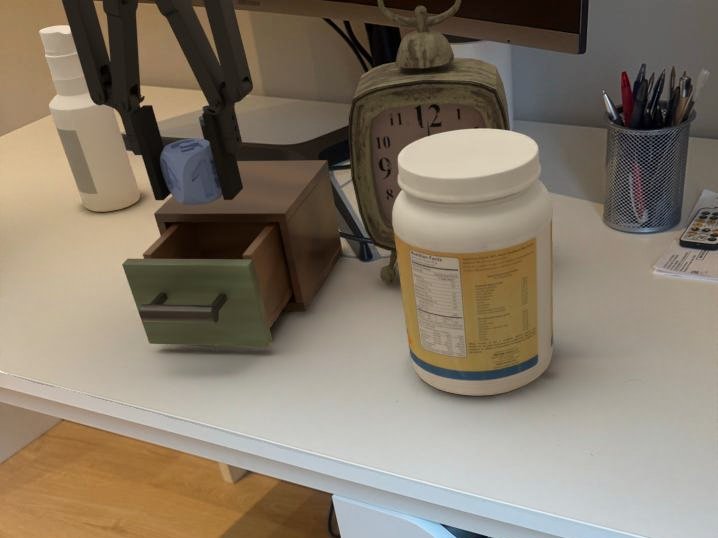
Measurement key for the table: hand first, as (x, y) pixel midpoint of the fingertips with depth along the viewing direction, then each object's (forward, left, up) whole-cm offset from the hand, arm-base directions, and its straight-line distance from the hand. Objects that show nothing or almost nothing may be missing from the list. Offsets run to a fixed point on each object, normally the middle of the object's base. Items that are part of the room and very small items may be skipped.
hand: (199, 193), depth 77 cm
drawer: (0, -2, -11) cm, 11 cm away
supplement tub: (+25, -6, -12) cm, 28 cm away
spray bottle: (-27, +31, -12) cm, 42 cm away
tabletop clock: (+18, +13, -12) cm, 25 cm away
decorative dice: (0, 0, 0) cm, 0 cm away
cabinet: (0, +10, -12) cm, 15 cm away
